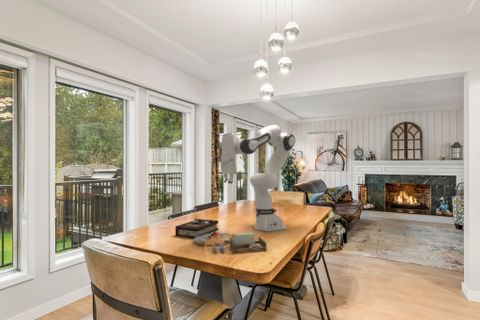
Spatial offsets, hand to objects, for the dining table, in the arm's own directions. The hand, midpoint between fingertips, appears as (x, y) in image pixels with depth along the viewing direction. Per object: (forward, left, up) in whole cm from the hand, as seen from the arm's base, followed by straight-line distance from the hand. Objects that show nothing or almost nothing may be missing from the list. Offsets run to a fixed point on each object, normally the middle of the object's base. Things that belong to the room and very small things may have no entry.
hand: (228, 181), depth 169 cm
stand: (+10, +26, -35) cm, 45 cm away
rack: (-5, +26, -35) cm, 44 cm away
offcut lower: (-9, +28, -34) cm, 45 cm away
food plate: (+9, +4, -36) cm, 37 cm away
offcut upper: (-9, +28, -33) cm, 44 cm away
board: (-4, +23, -34) cm, 41 cm away
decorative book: (+18, -19, -36) cm, 44 cm away
